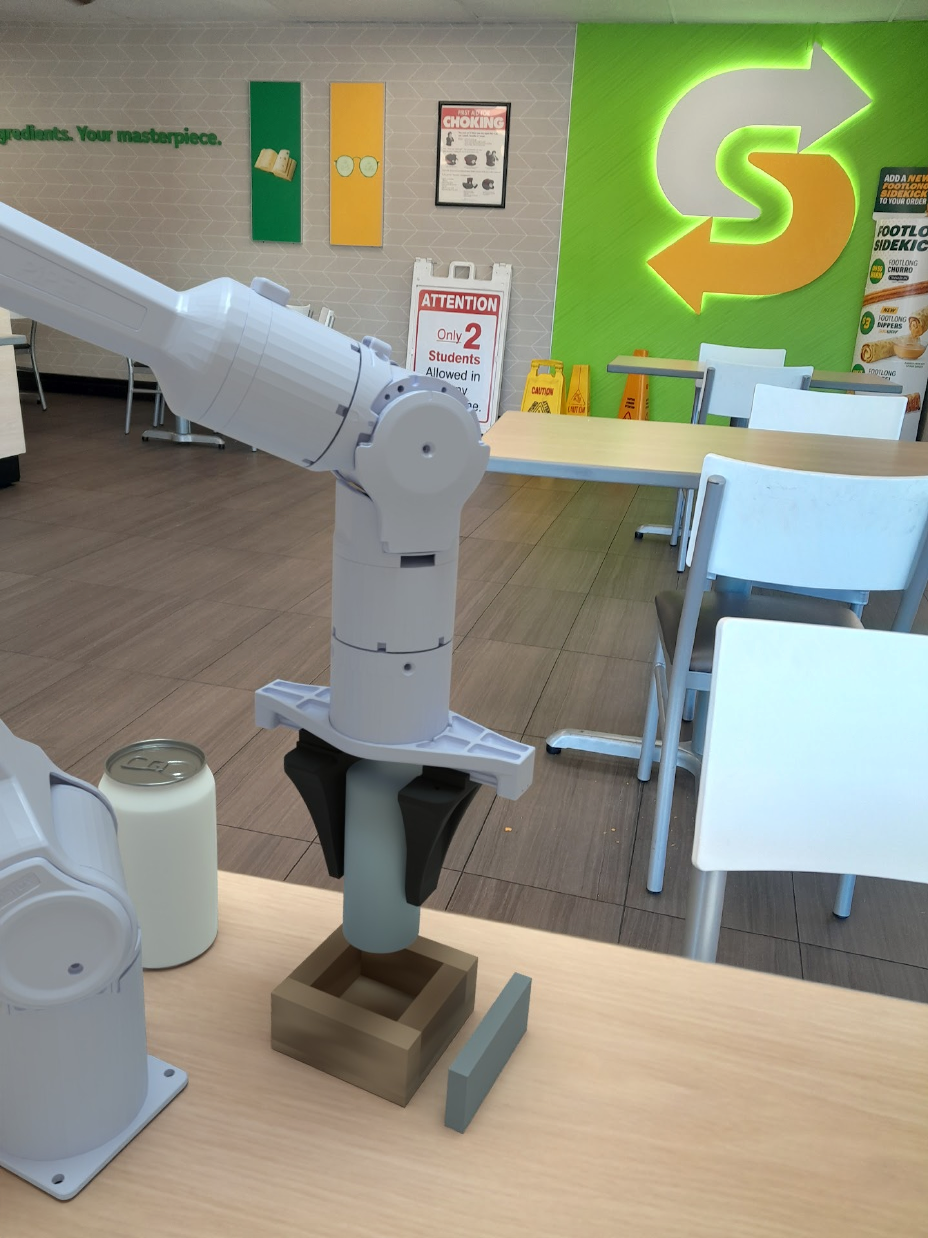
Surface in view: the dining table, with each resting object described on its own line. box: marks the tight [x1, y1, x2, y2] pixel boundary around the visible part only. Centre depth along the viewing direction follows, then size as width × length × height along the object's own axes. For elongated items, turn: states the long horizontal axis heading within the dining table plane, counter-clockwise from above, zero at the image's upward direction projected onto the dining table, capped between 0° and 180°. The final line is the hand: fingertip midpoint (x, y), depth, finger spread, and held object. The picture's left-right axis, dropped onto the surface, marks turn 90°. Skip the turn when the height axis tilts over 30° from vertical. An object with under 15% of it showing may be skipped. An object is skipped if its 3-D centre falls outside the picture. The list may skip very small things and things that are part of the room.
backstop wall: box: [443, 971, 533, 1135], centre depth 51 cm, size 1×8×4 cm, turn 154°
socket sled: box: [270, 922, 479, 1108], centre depth 53 cm, size 8×8×4 cm
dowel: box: [342, 759, 422, 953], centre depth 50 cm, size 4×4×9 cm
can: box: [97, 738, 219, 970], centre depth 58 cm, size 6×6×12 cm
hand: (382, 881), depth 51 cm, fingers closed on dowel, 4 cm apart
